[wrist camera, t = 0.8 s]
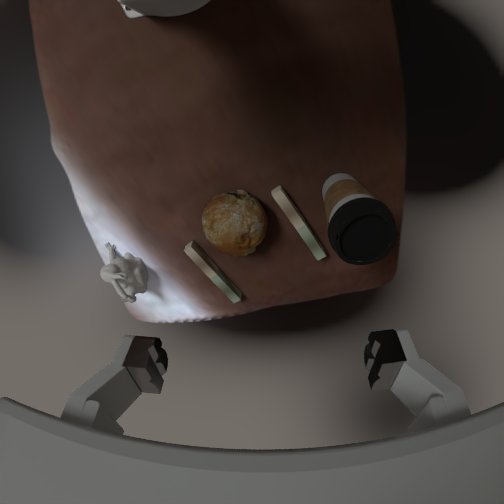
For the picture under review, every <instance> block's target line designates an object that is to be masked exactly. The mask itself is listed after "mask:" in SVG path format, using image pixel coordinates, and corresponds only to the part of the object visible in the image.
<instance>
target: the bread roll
mask: <svg viewBox="0 0 504 504" xmlns="http://www.w3.org/2000/svg"><path fill="white" fill-rule="evenodd" d="M267 224H268V219H267V215H266V213H265V211H264V209H263V207H262V206H261V204H260V203H259V201H258V200H257V199H256V198H254V197H252V196H251V195H248V193H247V192H246V191H244V190H237V192H226V193H221V194H218V195H216V196H214V197H212V198H211V199H210V200H209V201H208V203H207V204H206V206H205V208H204V211H203V215H202V227H203V231H204V233H205V235H206V238H207V240H208V241H209V242H210V244H211V245H212V246H213V247H214V248H216V249H217V250H219V251H220V252H223V253H226V254H229V255H231V256H233V257H235V256H243V255H244V256H246V255H247V254H250V253H252V252H254V251H255V249H256V248H257V247H256V246H257V245H258V244H259V243H260V242H261V241H262V240H263V238H264V237H265V232H266V229H267Z"/></svg>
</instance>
